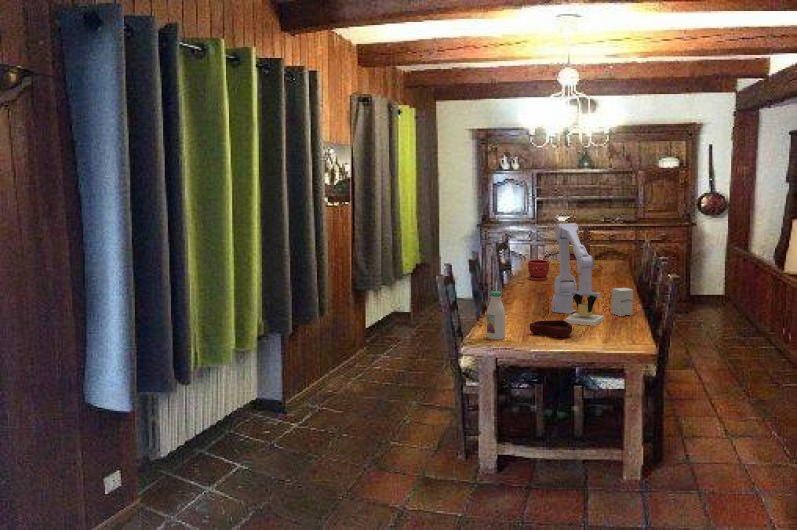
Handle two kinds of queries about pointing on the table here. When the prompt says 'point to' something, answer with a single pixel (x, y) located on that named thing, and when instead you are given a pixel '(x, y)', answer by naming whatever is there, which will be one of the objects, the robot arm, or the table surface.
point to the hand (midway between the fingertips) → (584, 311)
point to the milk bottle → (495, 317)
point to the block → (583, 310)
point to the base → (584, 319)
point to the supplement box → (622, 301)
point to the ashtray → (551, 328)
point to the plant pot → (538, 269)
